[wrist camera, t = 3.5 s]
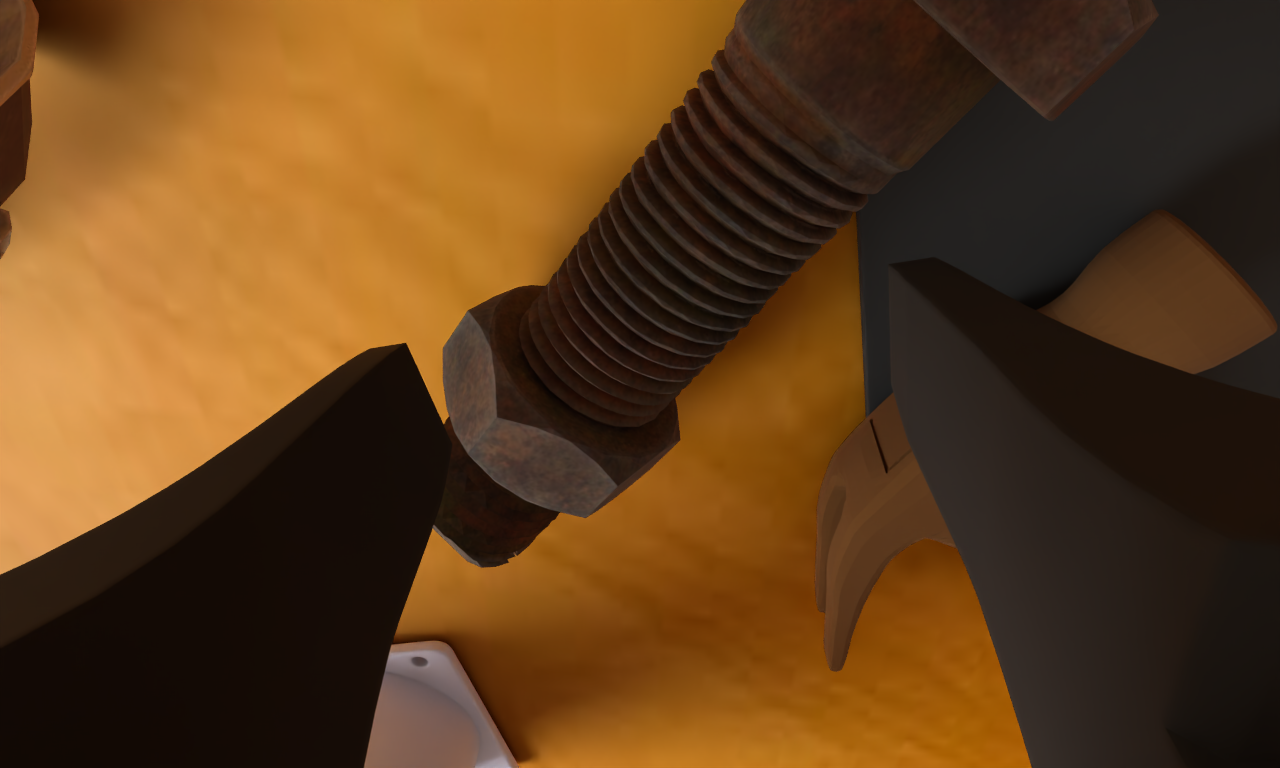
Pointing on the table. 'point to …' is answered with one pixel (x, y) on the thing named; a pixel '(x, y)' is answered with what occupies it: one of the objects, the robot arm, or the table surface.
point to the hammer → (1094, 304)
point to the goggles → (15, 99)
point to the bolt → (726, 234)
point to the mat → (1100, 178)
